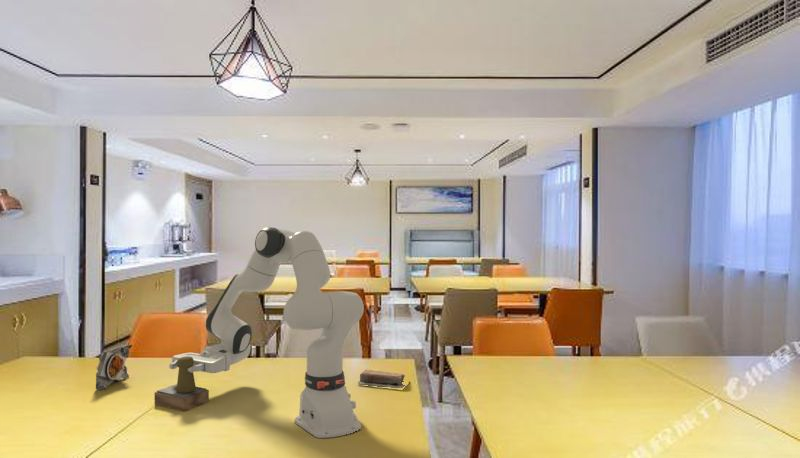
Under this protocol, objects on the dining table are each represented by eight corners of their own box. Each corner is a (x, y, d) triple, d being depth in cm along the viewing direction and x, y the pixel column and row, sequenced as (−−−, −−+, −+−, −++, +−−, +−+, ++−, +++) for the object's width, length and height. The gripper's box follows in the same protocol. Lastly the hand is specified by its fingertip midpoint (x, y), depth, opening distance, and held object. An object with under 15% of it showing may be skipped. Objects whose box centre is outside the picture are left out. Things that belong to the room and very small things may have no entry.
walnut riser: (179, 395, 176) (179, 382, 176) (208, 401, 169) (208, 388, 169) (154, 404, 167) (154, 391, 167) (184, 411, 160) (184, 397, 160)
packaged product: (356, 374, 187) (366, 367, 197) (356, 387, 187) (366, 379, 197) (402, 378, 181) (410, 371, 191) (402, 392, 181) (410, 384, 191)
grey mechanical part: (106, 390, 181) (106, 354, 181) (95, 390, 181) (95, 353, 181) (132, 377, 196) (132, 344, 195) (122, 377, 196) (122, 344, 196)
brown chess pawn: (198, 386, 170) (197, 354, 170) (191, 392, 164) (190, 358, 164) (180, 387, 170) (179, 355, 170) (173, 393, 164) (172, 359, 164)
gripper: (191, 346, 184) (158, 355, 172) (233, 352, 175) (201, 362, 163) (191, 363, 184) (158, 373, 172) (233, 370, 175) (201, 381, 163)
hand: (179, 368), depth 167 cm, fingers open, 7 cm apart
